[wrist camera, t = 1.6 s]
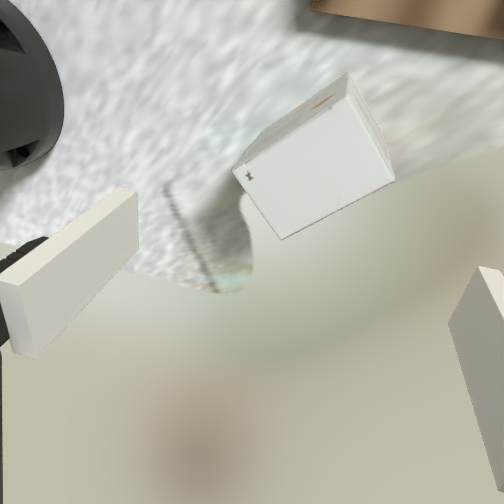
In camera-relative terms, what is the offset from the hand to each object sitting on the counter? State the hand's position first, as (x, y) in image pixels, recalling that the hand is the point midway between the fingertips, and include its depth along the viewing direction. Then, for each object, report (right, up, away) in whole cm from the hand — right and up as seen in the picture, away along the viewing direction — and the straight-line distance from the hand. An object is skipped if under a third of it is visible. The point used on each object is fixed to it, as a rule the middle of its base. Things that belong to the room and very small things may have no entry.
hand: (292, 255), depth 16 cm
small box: (+4, +10, +16) cm, 19 cm away
